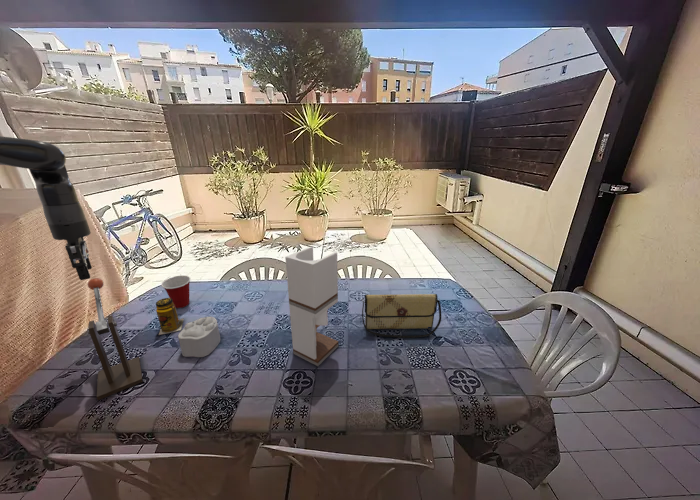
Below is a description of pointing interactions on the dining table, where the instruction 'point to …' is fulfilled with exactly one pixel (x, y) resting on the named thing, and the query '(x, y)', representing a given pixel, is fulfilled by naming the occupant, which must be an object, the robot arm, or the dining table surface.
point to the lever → (99, 305)
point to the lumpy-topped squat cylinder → (199, 337)
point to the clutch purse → (400, 312)
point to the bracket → (118, 374)
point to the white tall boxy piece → (311, 303)
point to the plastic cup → (178, 290)
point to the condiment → (168, 316)
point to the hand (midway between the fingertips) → (86, 274)
